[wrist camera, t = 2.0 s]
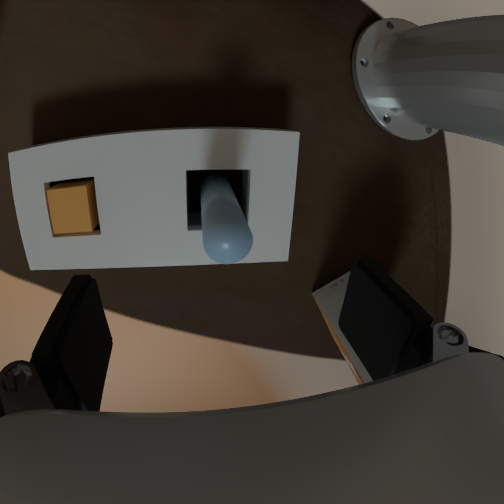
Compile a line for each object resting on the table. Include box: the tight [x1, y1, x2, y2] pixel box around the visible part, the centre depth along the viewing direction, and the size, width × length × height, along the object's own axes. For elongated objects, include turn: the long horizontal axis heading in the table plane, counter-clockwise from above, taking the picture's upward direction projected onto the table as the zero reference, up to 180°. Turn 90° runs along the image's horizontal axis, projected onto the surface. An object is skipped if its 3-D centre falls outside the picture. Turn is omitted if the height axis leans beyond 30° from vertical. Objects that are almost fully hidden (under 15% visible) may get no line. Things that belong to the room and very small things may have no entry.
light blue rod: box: [200, 173, 253, 264], centre depth 19 cm, size 2×2×11 cm
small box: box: [312, 271, 373, 385], centre depth 26 cm, size 8×6×13 cm
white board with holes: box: [8, 127, 300, 270], centre depth 21 cm, size 22×10×4 cm, turn 87°
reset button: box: [47, 179, 99, 234], centre depth 19 cm, size 3×3×2 cm
